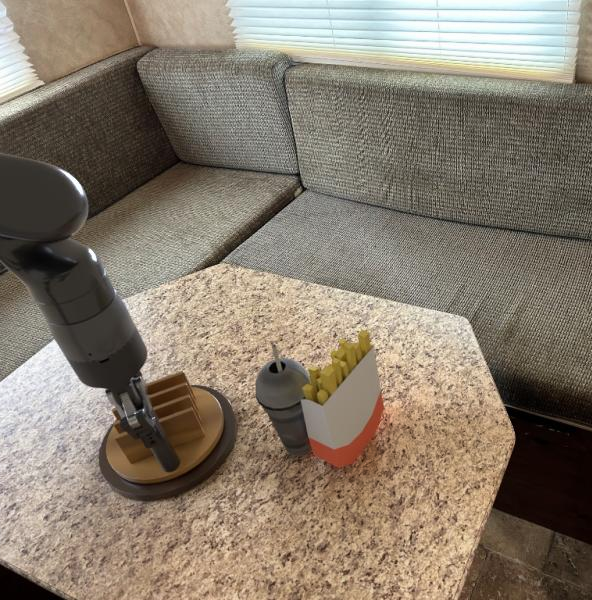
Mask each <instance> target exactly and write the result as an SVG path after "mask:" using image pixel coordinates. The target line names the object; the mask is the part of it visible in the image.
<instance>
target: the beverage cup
mask: <svg viewBox="0 0 592 600" xmlns="http://www.w3.org/2000/svg"><path fill="white" fill-rule="evenodd" d="M271 348H272V352H273V355H274V359H272V360H270V361H268V362H267V363H265V364H264V365H263V366H262V367H261V369H260V370H259V371H258V373H257V376H256V379H255V383H254V384H255V385H254V386H255V399H256V401H257V403H258V404H259V405H260V406H261V408H262V409H263V411H264V412H265V413H266V414H267V416H268V419H269V420H270V423H271V424H272V426H273V428H274V430H275V432H276V433H277V436H278V438H279V439H280V441H281V444H282V445H283V447H284V448H285V450H286V452H287V453H288V455H290V456H293V457H305V456H307V455H309V454H311V453H313V451H312V447H311V444H310V441H309V438H308V433H307V428H306V423H305V418H304V414H303V409H302V404H301V399H306V397H305V395H304V392H303V389H302V388H303V387H304V386H305V385H306V384H309V385H310V386H311V382H310V376H309V372H308V371H307V370H306V368H305V367H304V365H302V364H301V363H300V362H298V361H296V360H295V359H292V358H288V357H280V356H279V351H278V348H277V344H271Z"/></svg>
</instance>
